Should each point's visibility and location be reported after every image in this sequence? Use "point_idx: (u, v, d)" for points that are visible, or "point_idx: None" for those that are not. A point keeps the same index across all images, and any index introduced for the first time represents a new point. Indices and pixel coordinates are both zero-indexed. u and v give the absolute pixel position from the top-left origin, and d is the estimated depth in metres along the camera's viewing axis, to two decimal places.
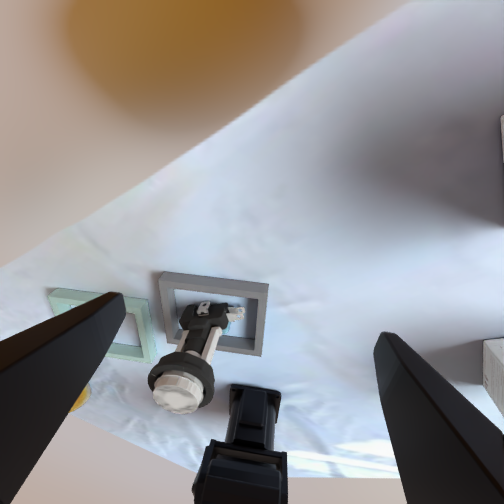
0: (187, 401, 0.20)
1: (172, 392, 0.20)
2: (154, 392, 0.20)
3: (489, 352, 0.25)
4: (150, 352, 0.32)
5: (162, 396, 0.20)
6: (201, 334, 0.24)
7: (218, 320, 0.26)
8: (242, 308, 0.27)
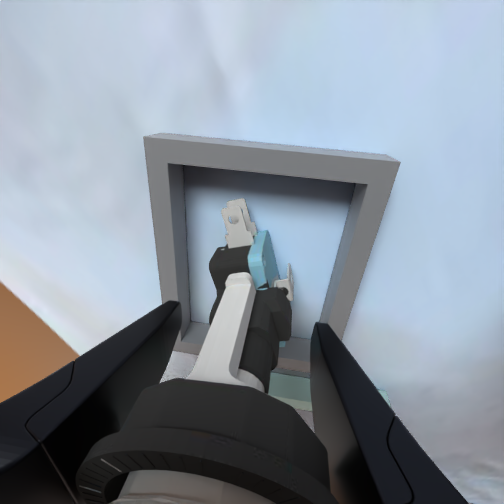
0: None
1: None
2: None
3: None
4: None
5: None
6: None
7: (218, 273, 0.10)
8: (230, 205, 0.11)
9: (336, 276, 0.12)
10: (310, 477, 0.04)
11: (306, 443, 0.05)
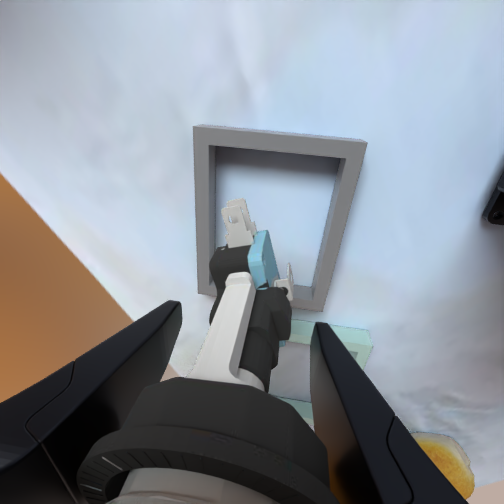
0: None
1: None
2: None
3: None
4: (348, 340, 0.19)
5: None
6: None
7: (218, 272, 0.10)
8: (231, 204, 0.11)
9: (326, 230, 0.16)
10: (310, 475, 0.04)
11: (306, 441, 0.05)
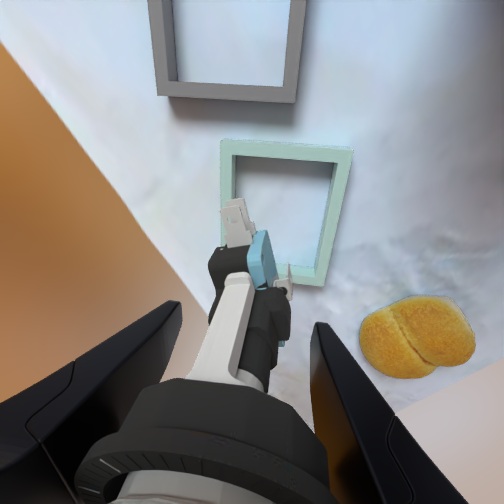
0: None
1: None
2: None
3: None
4: (326, 148, 0.17)
5: None
6: None
7: (217, 273, 0.10)
8: (229, 204, 0.11)
9: None
10: (310, 476, 0.04)
11: (305, 442, 0.05)
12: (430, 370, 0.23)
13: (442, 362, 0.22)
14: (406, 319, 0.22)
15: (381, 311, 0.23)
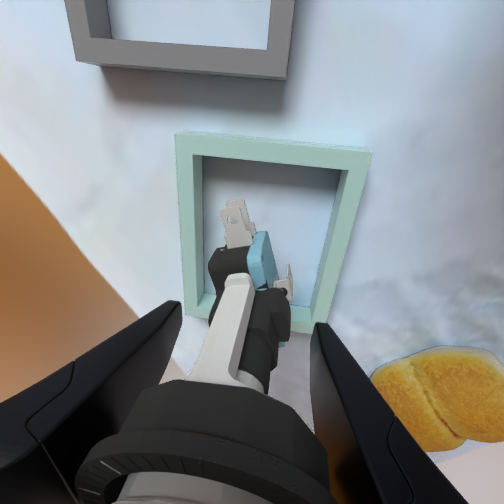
0: None
1: None
2: None
3: None
4: (331, 148, 0.12)
5: None
6: None
7: (217, 273, 0.10)
8: (230, 205, 0.11)
9: None
10: (310, 478, 0.04)
11: (306, 444, 0.05)
12: (461, 444, 0.18)
13: (480, 440, 0.16)
14: (433, 381, 0.16)
15: (398, 365, 0.18)
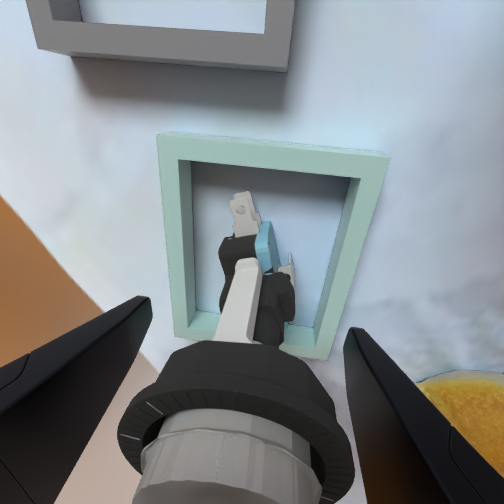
0: None
1: None
2: None
3: None
4: (340, 152, 0.10)
5: None
6: None
7: (227, 259, 0.11)
8: (237, 197, 0.12)
9: None
10: (324, 411, 0.05)
11: (317, 391, 0.06)
12: None
13: None
14: (452, 412, 0.14)
15: None
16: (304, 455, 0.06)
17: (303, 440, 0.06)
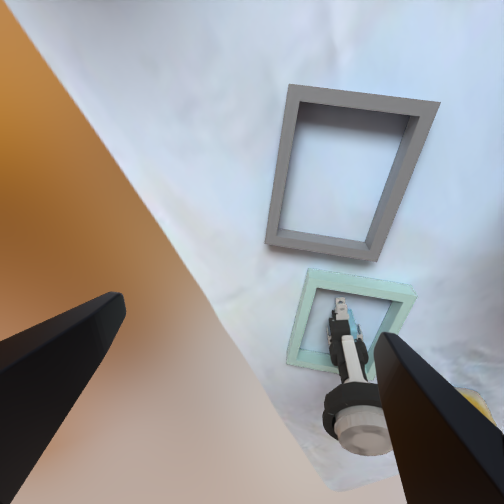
0: (371, 432, 0.16)
1: (352, 439, 0.17)
2: (351, 451, 0.18)
3: None
4: (395, 290, 0.21)
5: (359, 448, 0.17)
6: (338, 360, 0.22)
7: (335, 333, 0.23)
8: (337, 299, 0.23)
9: (390, 185, 0.18)
10: None
11: None
12: None
13: None
14: None
15: None
16: None
17: None
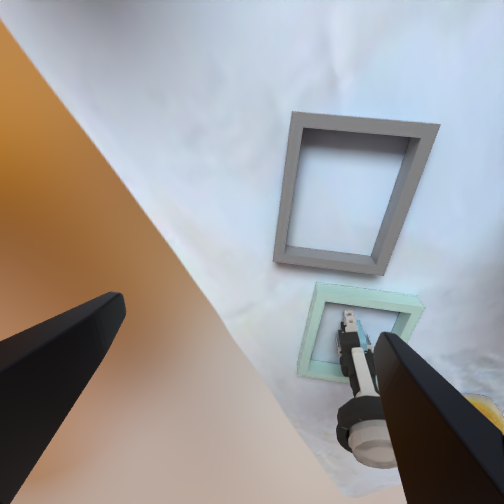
0: (385, 446, 0.17)
1: (367, 453, 0.17)
2: (366, 464, 0.18)
3: None
4: (402, 302, 0.22)
5: (374, 461, 0.18)
6: (349, 373, 0.22)
7: (345, 345, 0.23)
8: (346, 312, 0.24)
9: (393, 202, 0.19)
10: None
11: None
12: None
13: None
14: None
15: None
16: None
17: None
